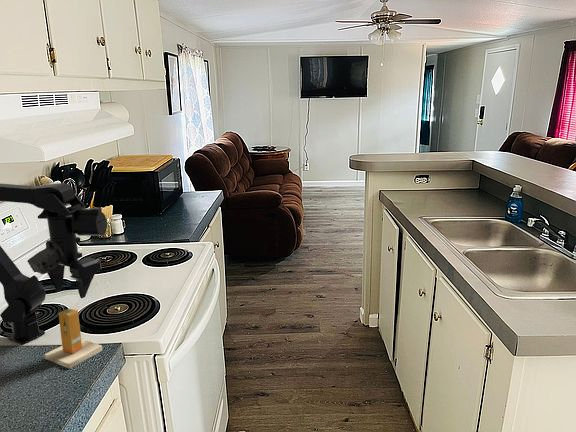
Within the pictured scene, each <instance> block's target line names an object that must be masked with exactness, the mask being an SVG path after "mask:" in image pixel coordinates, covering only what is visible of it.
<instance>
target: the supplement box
mask: <svg viewBox="0 0 576 432" xmlns="http://www.w3.org/2000/svg"><path fill="white" fill-rule="evenodd" d="M58 319H59V320H58V322H59V328H60V329H59V330H60V337H61V346H62V347H63V352H69V353H72V354H73V353H75V352H77V351H78V350H80V349H81V348H82V341H81V339H82V336H81V335H82V334H81V326H80V319H79V310H78V309H73V308H67V309H64V310H62V311H60V312H58Z"/></svg>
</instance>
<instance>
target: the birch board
mask: <svg viewBox="0 0 576 432" xmlns="http://www.w3.org/2000/svg"><path fill="white" fill-rule="evenodd" d="M81 341H82V348H81V349H80V350H78V351H77V352H75V353H73V354H72V353H69V352H63V347H62V345H60V346H58V347H56V348H55V349H52V350H51V351H48V352H46V353H44V359H45V360H47V361H50V362H52V363H54V364H56V365H60V366H62V367H64V368H66V369H72V368H74V367H76V366H77V365H79V364H81V363H83V362H85V361H86V360H88V359H90V358H91V357H93V356H95V355H97V354H99V353H100V352H102V351H103V350H104V349H103V345H101V344H98V343H96V342H92V341H91V340H90V341H89V340H87V339H84V338H81Z"/></svg>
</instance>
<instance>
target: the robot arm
mask: <svg viewBox="0 0 576 432" xmlns="http://www.w3.org/2000/svg"><path fill="white" fill-rule="evenodd" d="M0 202H8V203H19V204H29V205H32V206H34V207H36V208H39V209H41V210H42V209H43V211H41V213H39V215H37V219H40V220H41V219H43V220H44V219H46V220H47V227H48V234H49V239H48V240H46V242H45V248H44V249H42V250H40V251H38V252H37V253H36V254H34V255H32V256H31V257H30V258H29V259H28V260H27V263H28V265H29V267H30V268H31V270H32V271H33V273H38V274H40V275H45V274H47V276H48V277H49V279H50V280H51V282H52V285H53V286H54V288H55V290H56V292H61V291H62V290H63V285H64V277H65V269H66V267H68V270H69V273H70V274H71V275H70V276H69V277H70V278H72V279H73V280H75V283H76V287H77V291H78V294H79V298H80V299H84V298H86V295H88V292H89V291H88V290H89V288H90V285H91V284H92V281H93V279H94V277H95V275H96V274H97V273H99V271H100V272H101V270H102V262H101V261H100V260H98V259H96V258H92V257H85V258H83V253H82V252H79V250H78V243H79V242H81V237H79V236H86V237H89V236H91V237H92V236H93V237H94V236H95V237H96V236H97V237H103V236H104V235H105V234H106V233H107V229H108V218H106V215H105V213H104V212H102V207H93V208H91V207H90V208H89V207H87V206H86V205H85V204H84V203H83V202H82V201H81V199H80V198H79V197H78V196H77V195H76V193H75V192H74V189H73V187H71V186H70V184H68V183H65V182H58V183H50V184H49V183H48V184H42V185H26V184H25V185H23V184H13V183H2V182H1V183H0ZM86 207H87V208H86ZM80 258H82V259H80ZM79 259H80V260H79ZM0 284H1V285H2V288H3V295H4V300H5V301H6V303H7V307H6V308H5V309H3V310H2V312H1V313H0V318H1V319H2V321H3V322H4V323H11V330H12V334H10V335H8V336H7V340H9V341H12V342H15V343H17V344H19V345H23V344H26V343H28V342H30V341H32V340H34V339H36V338H38V337H40V336H42V335H45V334H46V331H45V330H43V329H40V328H39V323H38V317H37V314H36V311H38V310H39V309H41V308H42V303H44V302H45V299H46V295H47V293H46V291H45V285H44V284H42V283H41V282H40V280H39V279H38V277H37V276H36V275H35V274H34V275H32V276H27V275H26V274H23V273H22V272H21V270H20V269H19V268H18V266H17V265H16V264H15V263H14V261H13V260H12V258H11V257H10V256H9V255H8V254H7V252H6V251H5V250H4V249H3V248H2V246H1V245H0Z"/></svg>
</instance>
